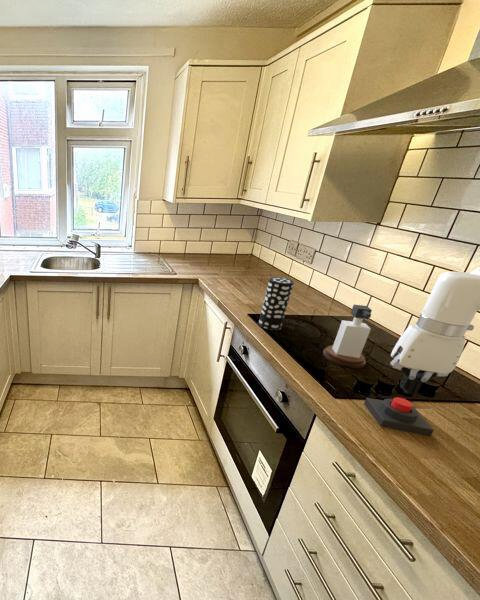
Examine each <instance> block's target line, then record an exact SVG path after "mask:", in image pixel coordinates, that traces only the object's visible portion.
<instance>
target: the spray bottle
mask: <svg viewBox="0 0 480 600" xmlns="http://www.w3.org/2000/svg"><path fill="white" fill-rule="evenodd" d="M372 312H373V309H372V308H370V307H369V306H367V305H363V304H361V305H360V304H353V305H352V308H351V311H350V315H351V316H353V319H352V321H351V320H345V319H344V320H343V319H342V320H341V322H340V325H339V328H338V330H337V333H336V336H335V339H334V342H333V344H332V345H328V346H327V347H325V348H326V352H327V353H328V354H329V355H331V356H332V357H334V358H336V359H338V360H341V361H344V362H349V363H362V362H364V360H366V357H365V356H364V355H363V353H362V352H363V350H364V347H365V344H366V342H367V340H368V338H369V335H370V333H371V330H372V328H371V327H370V326H369V325H368V324H367V323H365V322H363V320H369V319H370V318H371V316H372Z"/></svg>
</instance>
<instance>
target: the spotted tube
mask: <svg viewBox="0 0 480 600" xmlns="http://www.w3.org/2000/svg"><path fill="white" fill-rule="evenodd" d="M294 284H295V283H294V280H292V279H289V278H286V277H281V276H280V277H279V276H273V277H272V276H271V277H269V279H268V283H267V287H266V291H265V294H264V295H265V296H264V299H263V304H262V307H261V312H260V315H259V318H258V319H259V320H258V323H257V324H258V325H259V326H260V327H261V328H263V329H266V330H270V331H280V330H281V329H282V326H283V322H284V319H285V316H286V312H287V309H288V304H289V301H290V297H291V294H292V292H293V291H292V290H293V287H294Z"/></svg>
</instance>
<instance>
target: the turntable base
mask: <svg viewBox="0 0 480 600" xmlns="http://www.w3.org/2000/svg"><path fill="white" fill-rule="evenodd" d="M326 348H327V347H325V348H324V349H323V351H322V356H323V357H324V358H325V359H326V360H328V361H330V362H331V363H333V364H335V365H338V366H341V367H344V368H348V369H349V368H350V369H362V368H364V367H365V366H366V363H367V360H366V359H365V360H364V362H362V363H349V362H344V361H341V360H338V359H336V358H334V357H332V356H331V355H329V354H328V353H327V352H326Z"/></svg>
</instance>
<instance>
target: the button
mask: <svg viewBox="0 0 480 600" xmlns="http://www.w3.org/2000/svg"><path fill="white" fill-rule="evenodd" d="M392 399H393V401H392V403H391V406H392V407H393V408H395V409H396V410H399V411H401V412H405V413H410V411H411V409H412V407H414V404H413V403H412V401H409V400H407V399H406V398H403V397H399V396H396V397H394V398H392Z"/></svg>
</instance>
